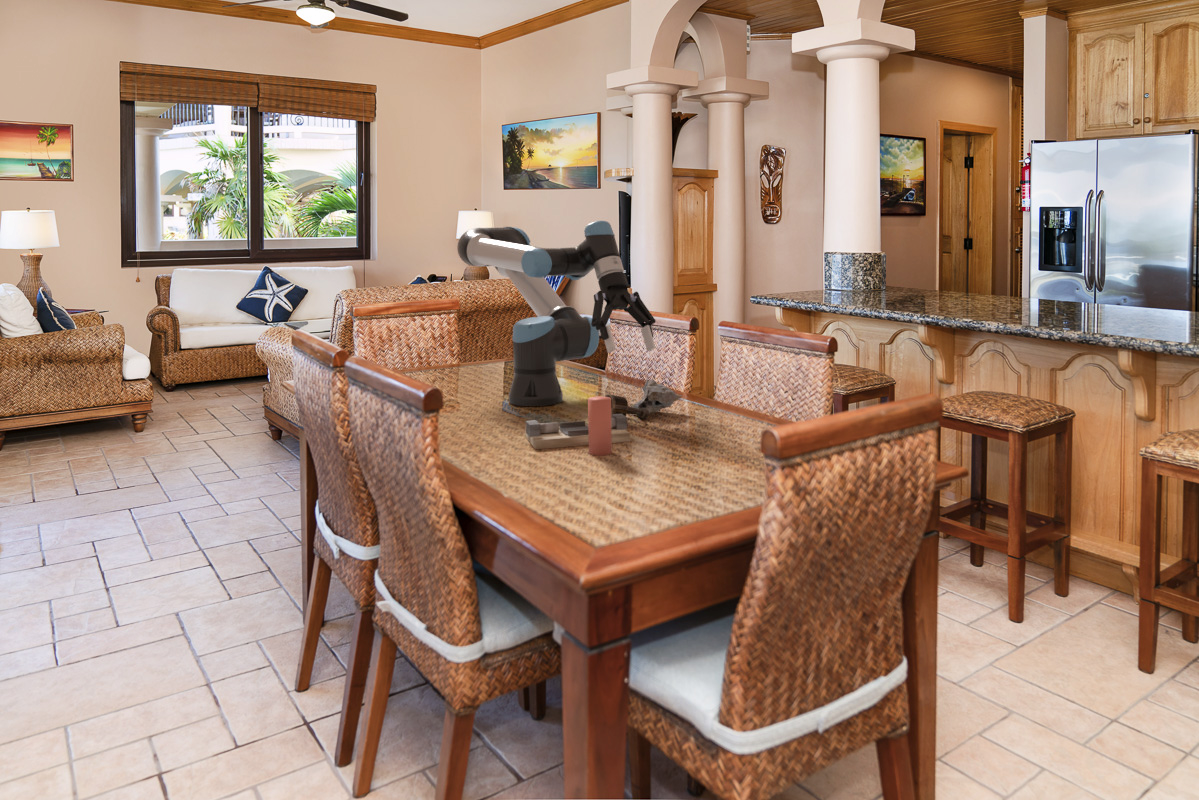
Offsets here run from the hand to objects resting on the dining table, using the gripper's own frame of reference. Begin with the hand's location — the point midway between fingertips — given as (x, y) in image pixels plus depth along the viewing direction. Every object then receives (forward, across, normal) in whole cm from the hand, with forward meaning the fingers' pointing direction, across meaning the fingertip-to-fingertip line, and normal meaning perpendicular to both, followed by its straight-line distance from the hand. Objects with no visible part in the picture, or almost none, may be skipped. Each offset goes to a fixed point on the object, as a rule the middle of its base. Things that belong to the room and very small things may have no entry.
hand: (632, 350), depth 236 cm
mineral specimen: (+17, +4, +2) cm, 17 cm away
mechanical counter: (+19, -8, +1) cm, 21 cm away
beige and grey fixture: (+24, -29, -5) cm, 38 cm away
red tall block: (+30, -32, -17) cm, 47 cm away
